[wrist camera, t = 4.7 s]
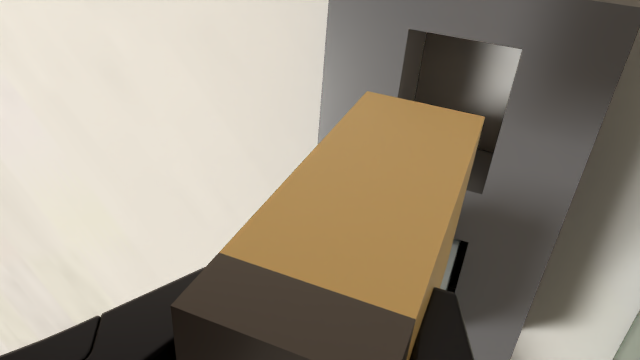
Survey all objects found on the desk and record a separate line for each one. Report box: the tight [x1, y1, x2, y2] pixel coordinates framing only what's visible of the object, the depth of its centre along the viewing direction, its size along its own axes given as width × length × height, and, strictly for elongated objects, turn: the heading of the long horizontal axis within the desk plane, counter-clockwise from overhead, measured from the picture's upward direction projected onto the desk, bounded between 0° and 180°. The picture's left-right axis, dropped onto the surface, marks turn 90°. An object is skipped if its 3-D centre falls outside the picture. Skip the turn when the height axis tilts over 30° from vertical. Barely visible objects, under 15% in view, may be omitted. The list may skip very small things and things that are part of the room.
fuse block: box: [318, 0, 640, 360], centre depth 19 cm, size 8×14×3 cm, turn 176°
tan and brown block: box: [170, 91, 485, 360], centre depth 9 cm, size 2×4×7 cm, turn 176°
